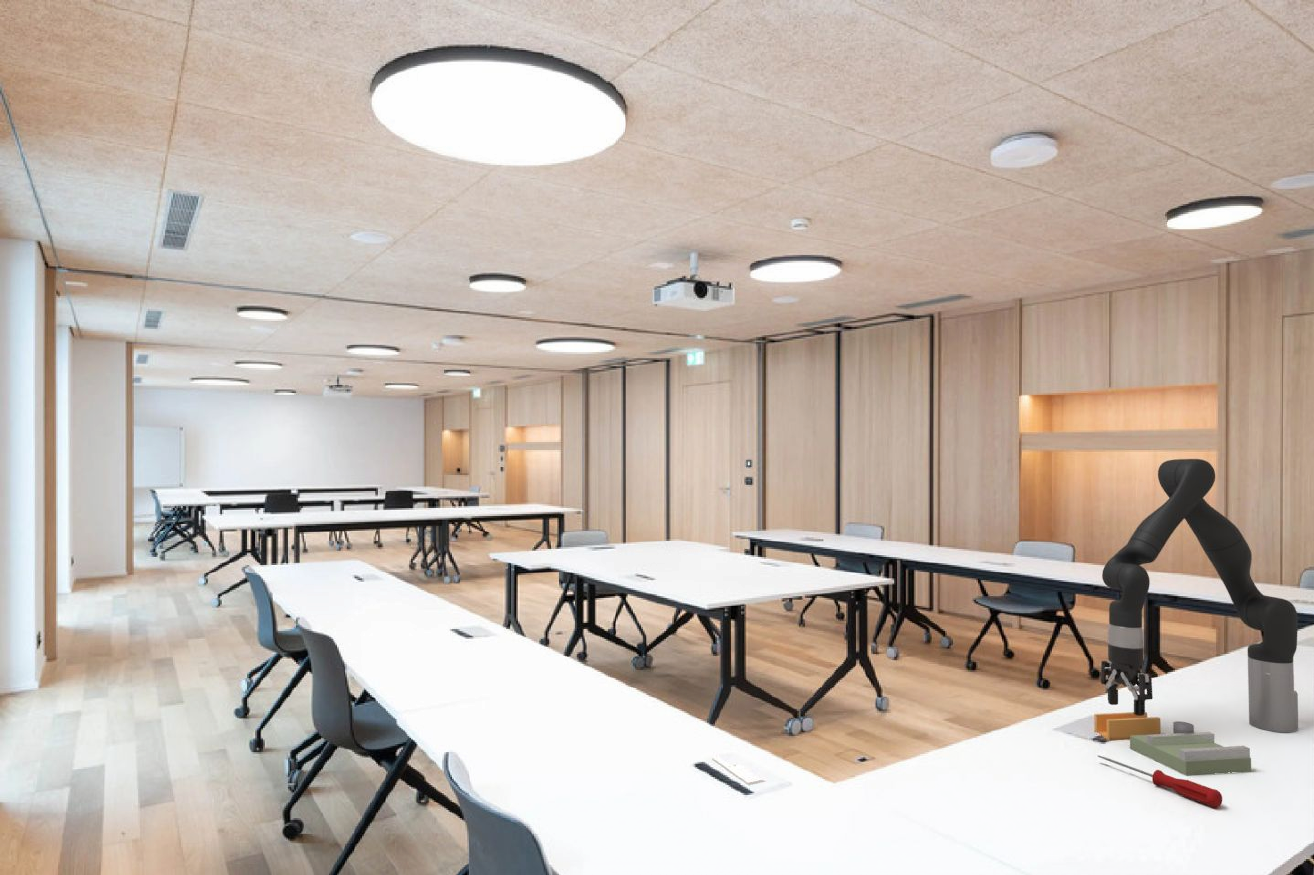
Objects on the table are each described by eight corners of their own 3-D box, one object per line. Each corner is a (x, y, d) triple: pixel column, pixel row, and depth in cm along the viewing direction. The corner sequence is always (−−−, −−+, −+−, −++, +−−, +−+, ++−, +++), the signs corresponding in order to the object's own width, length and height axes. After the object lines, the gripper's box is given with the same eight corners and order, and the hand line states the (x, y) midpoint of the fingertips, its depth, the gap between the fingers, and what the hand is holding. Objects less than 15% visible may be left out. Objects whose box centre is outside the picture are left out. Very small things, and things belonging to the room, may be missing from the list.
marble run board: (1190, 745, 183) (1189, 719, 183) (1251, 771, 167) (1250, 744, 167) (1129, 748, 181) (1129, 722, 181) (1186, 775, 165) (1185, 747, 165)
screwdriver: (1103, 762, 172) (1102, 746, 172) (1224, 807, 150) (1224, 789, 150) (1092, 764, 171) (1092, 748, 171) (1213, 811, 148) (1213, 792, 148)
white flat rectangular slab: (731, 758, 174) (731, 753, 174) (768, 783, 161) (768, 778, 161) (712, 761, 172) (712, 756, 172) (747, 787, 158) (747, 781, 158)
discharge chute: (1144, 731, 193) (1144, 711, 193) (1160, 738, 188) (1160, 718, 188) (1094, 734, 191) (1094, 713, 191) (1109, 741, 186) (1108, 720, 186)
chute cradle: (1208, 740, 178) (1208, 731, 178) (1249, 757, 167) (1249, 748, 167) (1147, 743, 175) (1146, 734, 176) (1184, 761, 165) (1184, 751, 165)
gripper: (1161, 650, 184) (1162, 718, 183) (1117, 637, 198) (1118, 700, 197) (1133, 650, 183) (1133, 719, 182) (1091, 637, 197) (1091, 701, 196)
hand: (1125, 709), depth 190 cm, fingers open, 8 cm apart
